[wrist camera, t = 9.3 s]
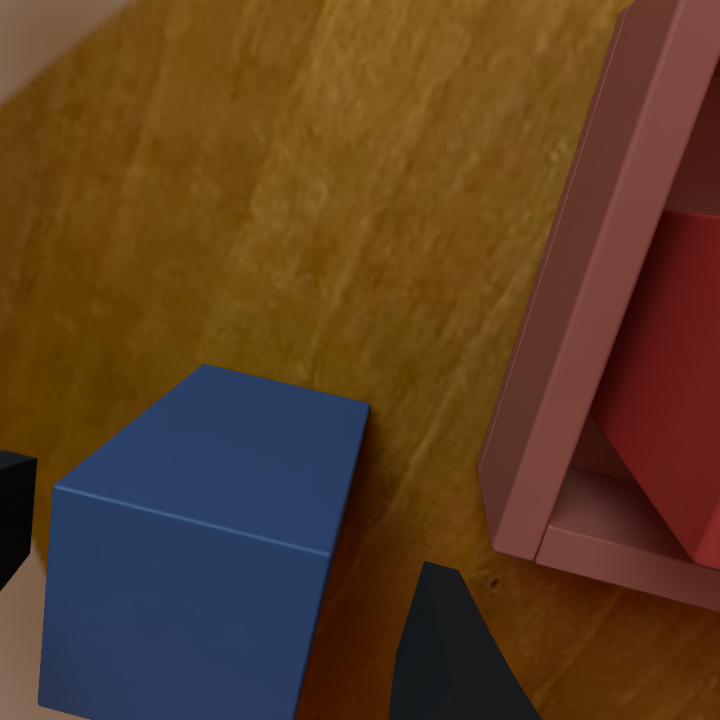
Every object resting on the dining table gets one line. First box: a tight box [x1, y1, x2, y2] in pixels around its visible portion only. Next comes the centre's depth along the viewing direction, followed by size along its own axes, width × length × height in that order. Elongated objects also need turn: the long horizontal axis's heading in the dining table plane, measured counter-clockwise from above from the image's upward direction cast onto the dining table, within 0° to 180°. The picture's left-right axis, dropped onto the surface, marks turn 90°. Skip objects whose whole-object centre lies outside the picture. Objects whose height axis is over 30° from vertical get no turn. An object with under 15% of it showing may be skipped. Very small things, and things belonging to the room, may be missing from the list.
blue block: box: [38, 364, 370, 720], centre depth 12 cm, size 4×4×6 cm
